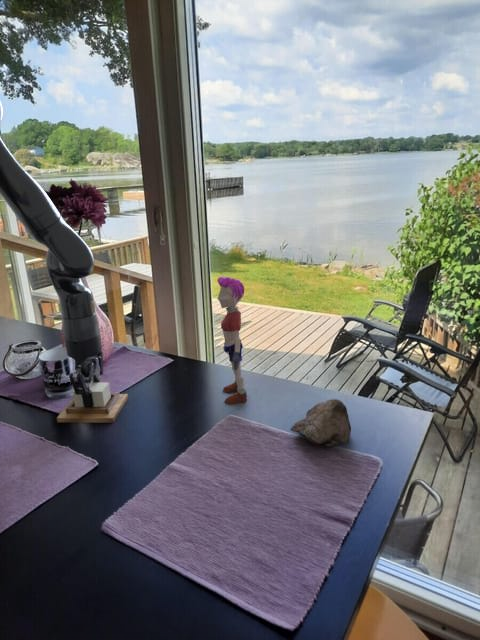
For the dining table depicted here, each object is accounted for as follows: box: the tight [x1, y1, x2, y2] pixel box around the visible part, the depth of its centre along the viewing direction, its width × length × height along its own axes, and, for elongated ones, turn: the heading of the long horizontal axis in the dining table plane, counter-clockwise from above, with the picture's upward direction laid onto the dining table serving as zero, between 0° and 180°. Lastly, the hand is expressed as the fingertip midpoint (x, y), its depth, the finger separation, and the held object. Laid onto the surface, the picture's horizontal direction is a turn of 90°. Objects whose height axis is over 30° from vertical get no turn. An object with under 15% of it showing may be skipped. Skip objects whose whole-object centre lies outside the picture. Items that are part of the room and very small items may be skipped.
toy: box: [217, 276, 248, 405], centre depth 104 cm, size 16×6×30 cm, turn 6°
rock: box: [290, 398, 352, 448], centre depth 90 cm, size 13×12×10 cm
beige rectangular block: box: [72, 381, 112, 407], centre depth 103 cm, size 7×4×4 cm, turn 87°
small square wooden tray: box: [56, 392, 129, 424], centre depth 104 cm, size 13×11×2 cm
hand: (92, 400), depth 104 cm, fingers closed on beige rectangular block, 4 cm apart
